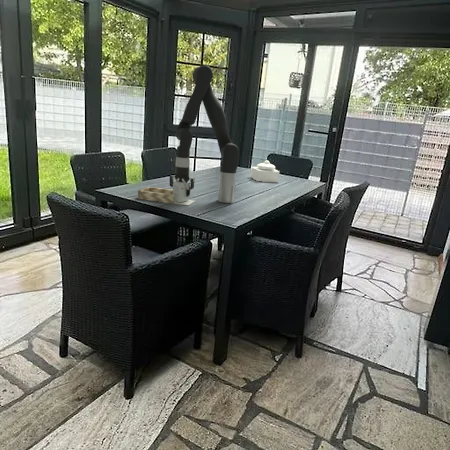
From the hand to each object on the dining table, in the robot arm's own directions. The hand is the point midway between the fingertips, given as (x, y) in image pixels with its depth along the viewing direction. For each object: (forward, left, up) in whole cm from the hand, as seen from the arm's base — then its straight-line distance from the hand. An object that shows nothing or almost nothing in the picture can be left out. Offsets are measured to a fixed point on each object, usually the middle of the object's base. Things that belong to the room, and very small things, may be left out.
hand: (181, 195), depth 203 cm
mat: (-2, 0, -4) cm, 4 cm away
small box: (0, 0, -3) cm, 3 cm away
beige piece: (+13, 0, -4) cm, 13 cm away
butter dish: (-31, -103, -4) cm, 108 cm away
